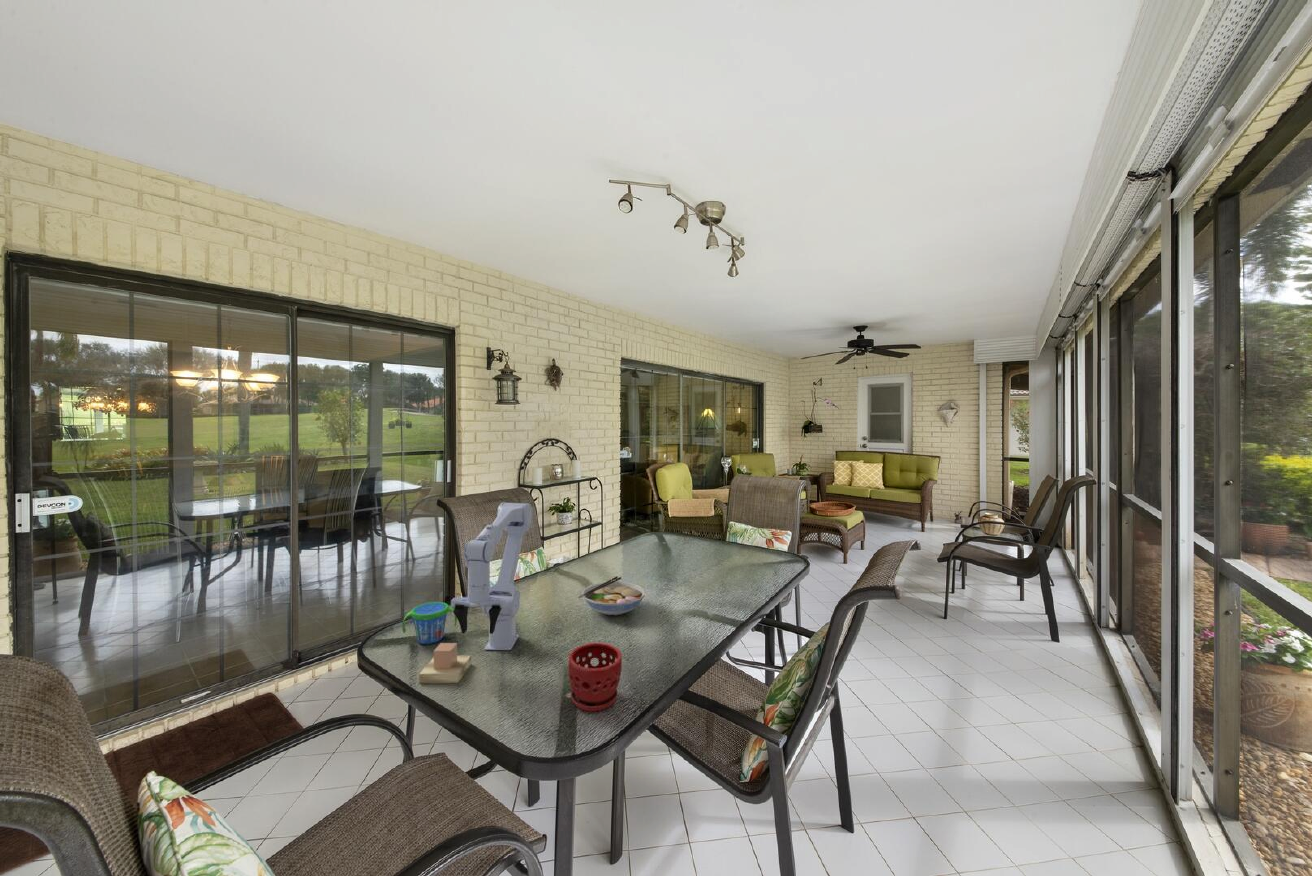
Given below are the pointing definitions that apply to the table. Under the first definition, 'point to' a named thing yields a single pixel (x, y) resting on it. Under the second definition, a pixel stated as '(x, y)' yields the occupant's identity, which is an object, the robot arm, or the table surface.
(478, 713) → the table surface
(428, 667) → the base
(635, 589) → the ramen bowl
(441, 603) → the snack cup
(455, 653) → the block
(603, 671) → the plant pot
